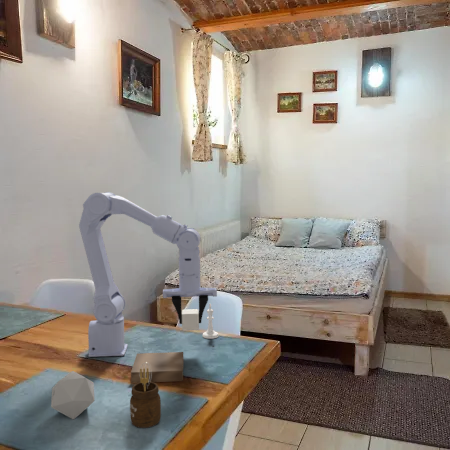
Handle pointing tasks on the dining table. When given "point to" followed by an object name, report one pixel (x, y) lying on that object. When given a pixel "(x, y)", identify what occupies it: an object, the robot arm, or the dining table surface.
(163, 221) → the robot arm
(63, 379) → the die
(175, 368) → the walnut block
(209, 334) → the chess piece
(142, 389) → the utensil holder
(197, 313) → the white cube
